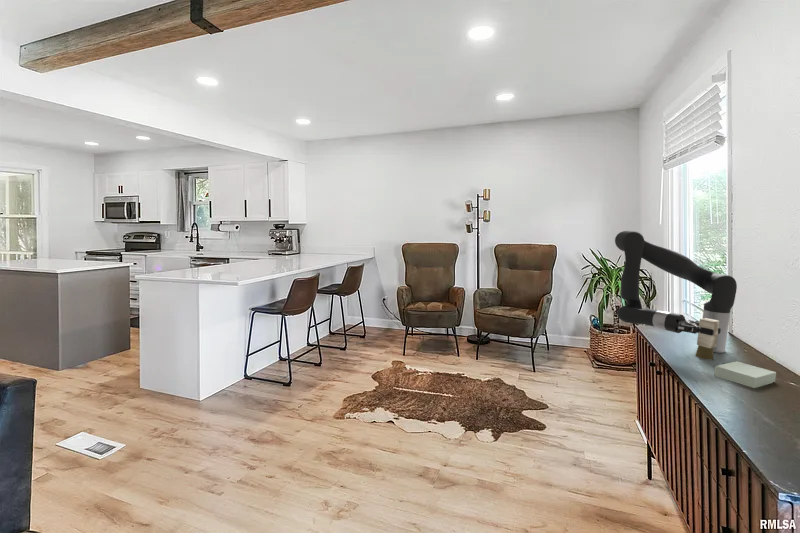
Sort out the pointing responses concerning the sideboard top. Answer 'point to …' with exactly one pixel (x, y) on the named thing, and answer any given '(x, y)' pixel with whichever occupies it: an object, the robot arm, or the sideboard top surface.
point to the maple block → (706, 339)
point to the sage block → (745, 374)
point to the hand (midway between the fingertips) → (716, 331)
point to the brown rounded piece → (704, 352)
